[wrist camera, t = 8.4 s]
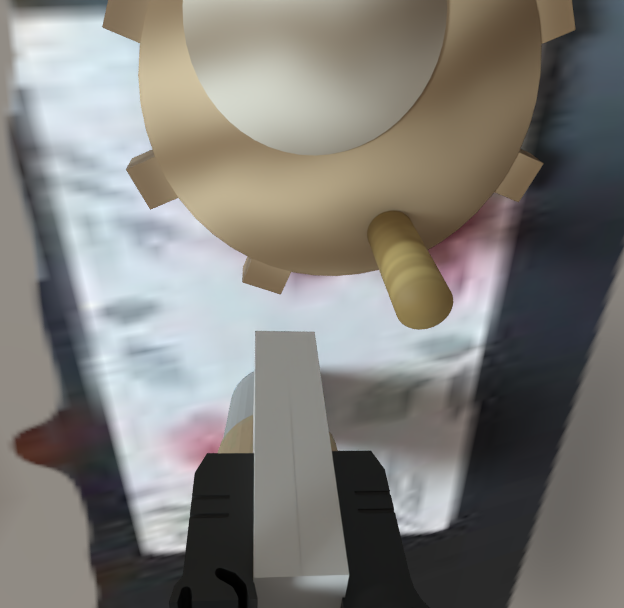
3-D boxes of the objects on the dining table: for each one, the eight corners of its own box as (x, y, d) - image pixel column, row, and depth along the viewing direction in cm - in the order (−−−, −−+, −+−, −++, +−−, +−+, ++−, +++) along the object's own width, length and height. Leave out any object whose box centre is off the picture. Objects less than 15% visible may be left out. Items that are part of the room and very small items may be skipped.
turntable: (8, -52, 23) (-110, -49, 16) (512, -309, 20) (663, -455, 13) (235, 332, 34) (230, 442, 27) (582, 199, 31) (684, 280, 24)
